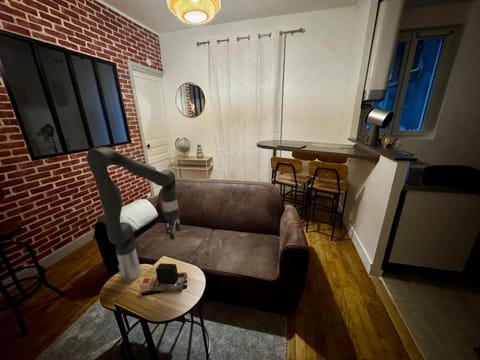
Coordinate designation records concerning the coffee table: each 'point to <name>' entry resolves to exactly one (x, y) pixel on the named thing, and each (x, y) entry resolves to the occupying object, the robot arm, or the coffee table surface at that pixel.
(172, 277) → the electronic device
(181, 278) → the trough
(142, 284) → the orange open cube box
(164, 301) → the coffee table surface
